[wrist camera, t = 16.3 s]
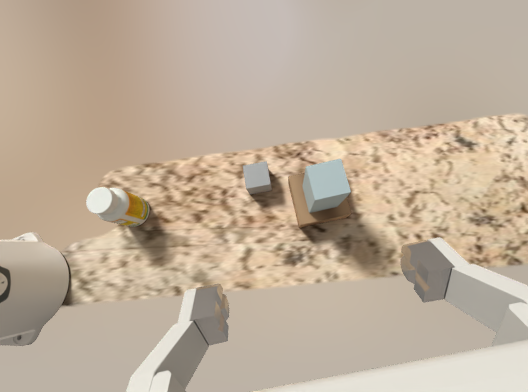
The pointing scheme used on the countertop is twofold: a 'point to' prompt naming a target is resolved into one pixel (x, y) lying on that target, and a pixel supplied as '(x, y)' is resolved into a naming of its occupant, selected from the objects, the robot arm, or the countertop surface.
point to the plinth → (302, 208)
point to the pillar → (325, 185)
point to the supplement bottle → (118, 206)
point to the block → (257, 178)
